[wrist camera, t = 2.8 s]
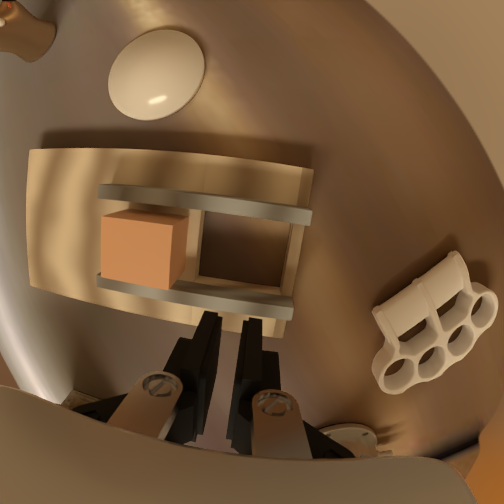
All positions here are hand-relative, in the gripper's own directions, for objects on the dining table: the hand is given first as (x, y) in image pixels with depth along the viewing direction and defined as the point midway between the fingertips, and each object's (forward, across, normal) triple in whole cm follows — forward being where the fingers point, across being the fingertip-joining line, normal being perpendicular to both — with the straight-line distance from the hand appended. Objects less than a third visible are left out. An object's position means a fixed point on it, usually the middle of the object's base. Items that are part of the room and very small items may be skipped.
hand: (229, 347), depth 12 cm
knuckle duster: (+18, -22, +6) cm, 29 cm away
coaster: (+17, +12, -16) cm, 26 cm away
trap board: (+17, +10, 0) cm, 20 cm away
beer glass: (+17, +30, -23) cm, 42 cm away
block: (+15, +8, 0) cm, 17 cm away
